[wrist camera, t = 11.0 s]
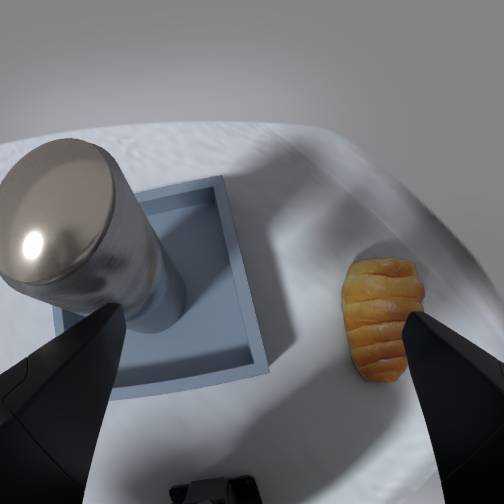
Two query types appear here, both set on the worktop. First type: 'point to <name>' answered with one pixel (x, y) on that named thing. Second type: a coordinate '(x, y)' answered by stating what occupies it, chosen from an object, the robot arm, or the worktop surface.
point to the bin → (192, 300)
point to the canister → (84, 238)
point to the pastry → (379, 314)
